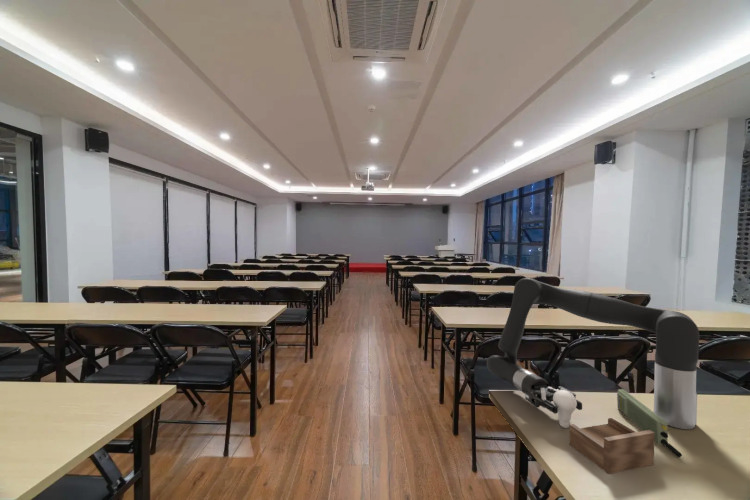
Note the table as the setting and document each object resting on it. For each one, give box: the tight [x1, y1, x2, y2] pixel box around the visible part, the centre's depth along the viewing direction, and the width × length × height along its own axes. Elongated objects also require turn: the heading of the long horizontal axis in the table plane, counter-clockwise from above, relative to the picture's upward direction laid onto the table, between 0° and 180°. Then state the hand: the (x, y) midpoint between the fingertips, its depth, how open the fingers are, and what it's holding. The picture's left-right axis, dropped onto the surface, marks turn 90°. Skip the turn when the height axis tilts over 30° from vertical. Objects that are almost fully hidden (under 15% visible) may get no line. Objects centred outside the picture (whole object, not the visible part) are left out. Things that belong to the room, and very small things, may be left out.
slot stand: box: [569, 417, 655, 475], centre depth 83 cm, size 14×11×8 cm
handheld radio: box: [616, 388, 683, 458], centre depth 93 cm, size 7×3×25 cm
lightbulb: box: [552, 390, 577, 429], centre depth 94 cm, size 6×6×11 cm
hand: (569, 408), depth 93 cm, fingers open, 8 cm apart
